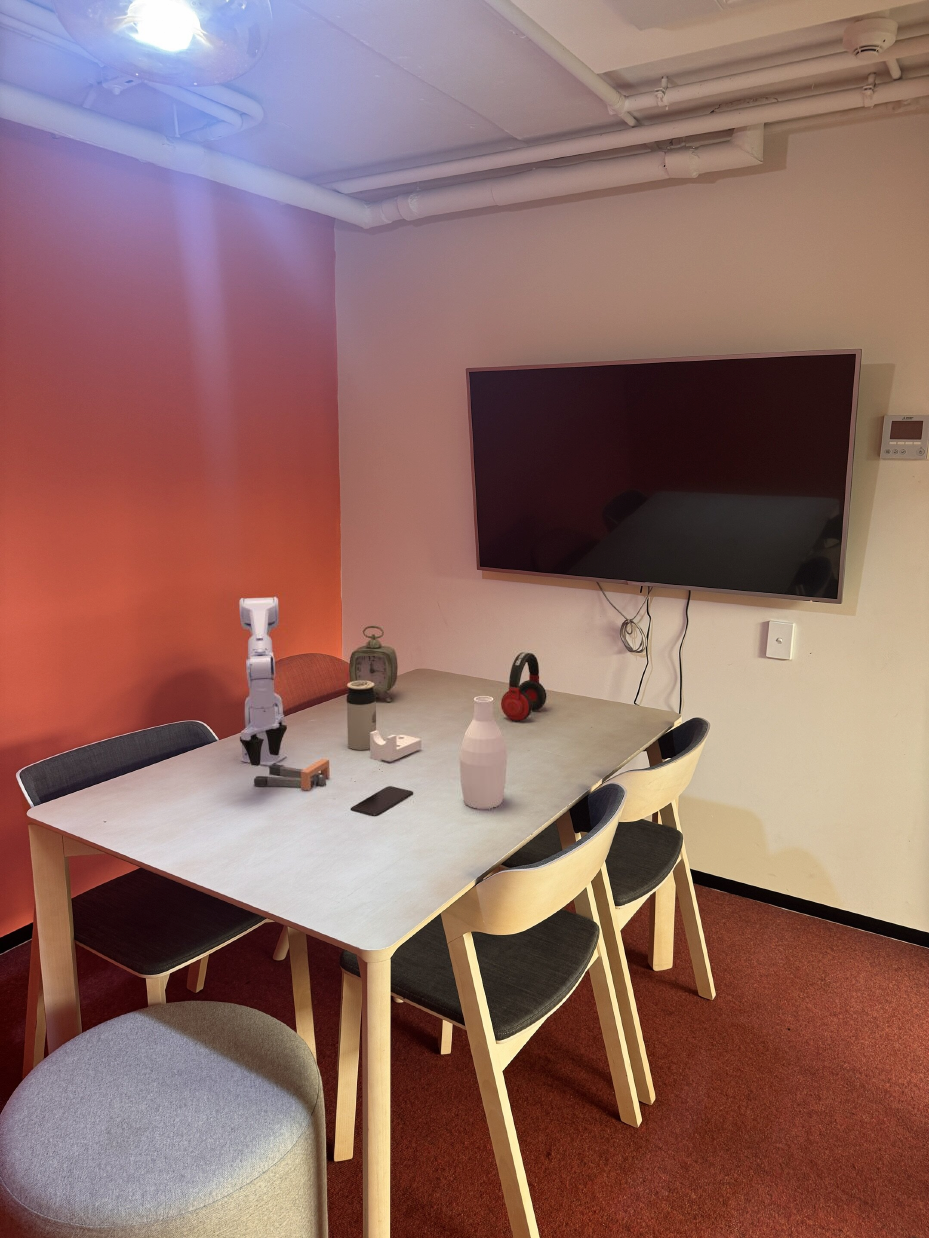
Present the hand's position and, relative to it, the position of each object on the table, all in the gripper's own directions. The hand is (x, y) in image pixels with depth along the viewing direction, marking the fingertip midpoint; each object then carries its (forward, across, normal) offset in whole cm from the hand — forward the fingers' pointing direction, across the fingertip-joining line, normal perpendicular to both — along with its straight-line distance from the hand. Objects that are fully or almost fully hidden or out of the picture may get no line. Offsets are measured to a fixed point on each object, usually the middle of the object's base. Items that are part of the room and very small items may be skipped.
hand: (265, 759), depth 209 cm
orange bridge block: (+8, +10, -8) cm, 15 cm away
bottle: (+9, +16, -50) cm, 53 cm away
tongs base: (+8, +11, -2) cm, 14 cm away
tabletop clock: (+9, +81, +15) cm, 83 cm away
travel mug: (+9, +39, -4) cm, 40 cm away
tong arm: (+8, +5, -1) cm, 10 cm away
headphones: (+9, +84, -37) cm, 92 cm away
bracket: (+9, +36, -16) cm, 41 cm away
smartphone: (+9, +7, -28) cm, 30 cm away
